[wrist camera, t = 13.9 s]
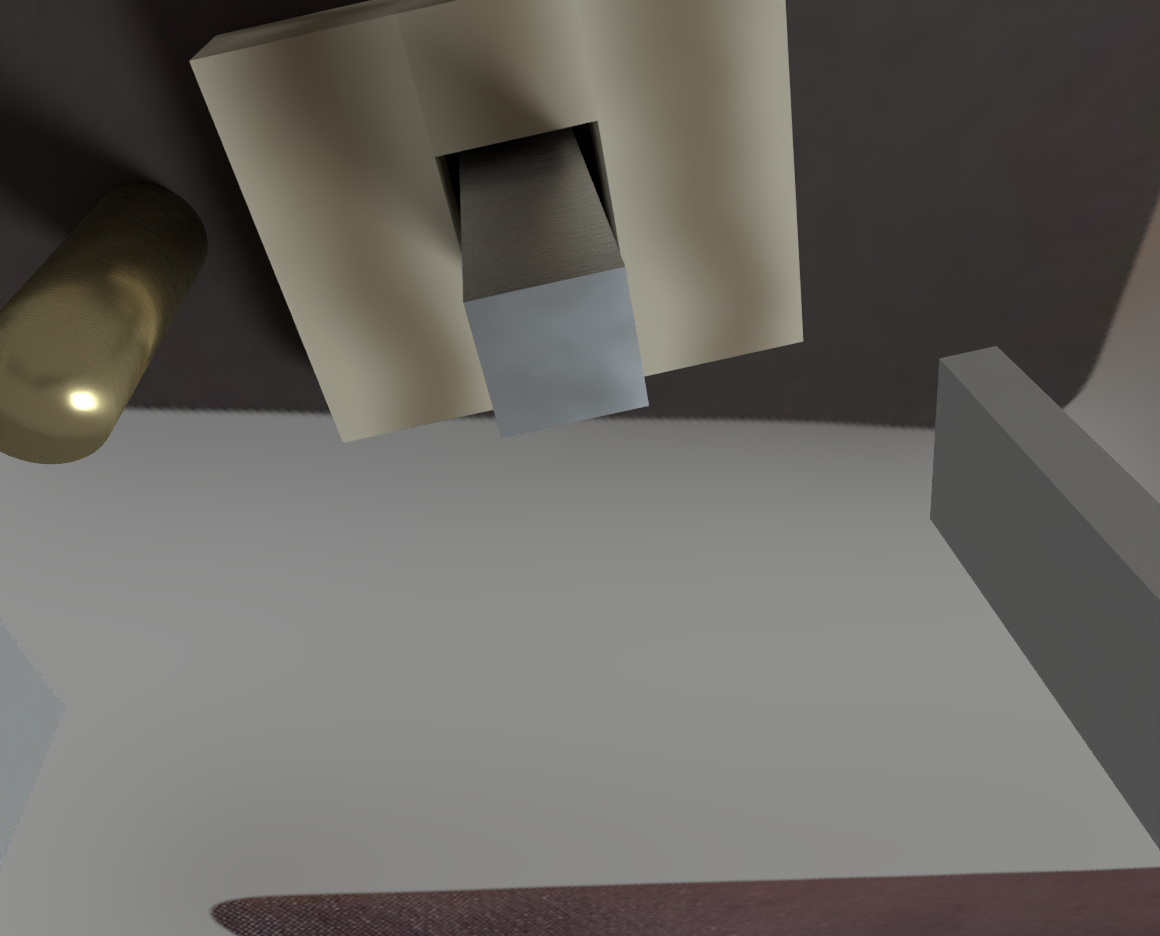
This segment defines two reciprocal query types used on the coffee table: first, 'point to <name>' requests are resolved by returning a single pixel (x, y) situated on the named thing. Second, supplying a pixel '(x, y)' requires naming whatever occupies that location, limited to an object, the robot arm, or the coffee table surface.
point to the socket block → (492, 115)
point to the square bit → (545, 286)
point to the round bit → (94, 322)
